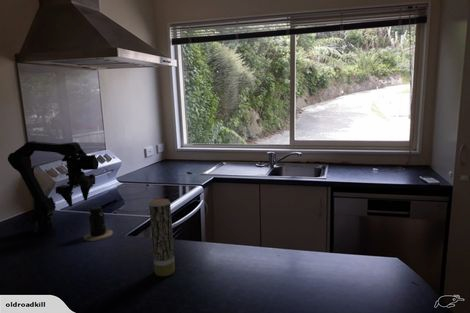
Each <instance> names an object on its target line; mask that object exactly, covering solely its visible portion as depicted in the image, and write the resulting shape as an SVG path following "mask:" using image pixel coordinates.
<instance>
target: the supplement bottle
mask: <svg viewBox="0 0 470 313" xmlns="http://www.w3.org/2000/svg"><path fill="white" fill-rule="evenodd" d="M87 220H88V227H89V232H90V235H91V236H101V235H103V234H105V233H106V229H107V225H106V224H107V223H106V215H105V213H104V212H103V209H102V206H92V207H90V208H89V214H88V216H87Z"/></svg>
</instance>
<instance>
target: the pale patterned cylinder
mask: <svg viewBox="0 0 470 313" xmlns="http://www.w3.org/2000/svg"><path fill="white" fill-rule="evenodd" d="M148 206H149V217H150V218H149V219H150V232H151V241H152V244H151V245H152V254H153V256H152V257H153V266H154V268H153V269H154V273H155V275H156V276H158V277H168V276H171V275H172V274H174V272H175V270H176V267H175V266H176V265H175V264H176V263H175V252H174V251H175V250H174V238H173V237H174V235H173V223H172V211H171V210H172V209H171V200H170V199H167V198H157V199H154V200H150V201H149V203H148Z"/></svg>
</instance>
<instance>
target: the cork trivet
mask: <svg viewBox="0 0 470 313" xmlns="http://www.w3.org/2000/svg"><path fill="white" fill-rule="evenodd" d="M113 233H114V232H113V230H112V229H109V228H106V233H105V234H103V235H101V236H91V235H90V231H88V232H87V233H85V234H84V235H83V240H84V241H86V242H98V241H103V240H106V239H109V238H111V237H112V236H113Z"/></svg>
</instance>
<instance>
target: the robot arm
mask: <svg viewBox="0 0 470 313" xmlns="http://www.w3.org/2000/svg"><path fill="white" fill-rule="evenodd" d="M35 152H45V153H56V154H59V155H61V156H63V158H61V159H60V160H61V162H66V168H67V169H66V170H67V173H65V176H66V177H67V178H68V181H67V182H66V184H62V185H59V186H56V187H55V189H54V190H55V194H57V195H60V196H61V197H62V198H63V199H64V200H65V202H66V204H67V205H68V206H69V207H70V208H71V207H73V194H74V191H73V189H75V188H79V187H80V191H81V195H82V197H83V198H82V199H83V201H85V202H86V201H87V200H88V198H89V197H88V196H89V192H90V189H91V188H92V187H94V185H95V184H96V175H95V174H93V173H91V174H89V175H86V174H85V172H84V171H90V170H91V171H93V170H94V171H95V170H96V171H97V170H98V168H99V164H100V163H99V161H98V158H97V157H96V154H91V155H89V154H88V155H87V153H86V152H85V151H84V150H83V149H82V148H81V145H80V144H79V143H78V142H76V141H74V142H64V143H53V142H45V141H35V140H33V141H32V140H31V141H27V142H25V143H24V144H23V145H22V146H20V147H19V148H18V149H16V150H15V151H14V152H11V153H9V154H8V157H7V162H8V164H9V165H11V167H12V168H13V169H14V170H16V171H17V172H18V173H19V174H20V177H21V179H22V180H23V182H24V184H25V185H26V188H27V189H28V191H29V193H30V196H31V198H32V199H33V209H34V211H35V212H34V213H33V214H32V216H31V217H30V219H31V222H33V223H34V222H35V230H34V231H33V233H34V234H43V235H44V234H47V233H49V232H52V231H54V230H55V229H56V228H55V227H53V221H52V218H51V217H52V216H54V215H53V214H54V212H55V211H56V205H57V203H55V201H54V199H53V197H52V196H50V197H48V196H47V195H46V194H45V193H44V191H43V188H42V187H41V185H40V184H41V183H40V182H39V181H38V179H37V177H36V175H35V173H34V171H33V169H32V160H31V157H32V156H33V154H34V153H35Z"/></svg>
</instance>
